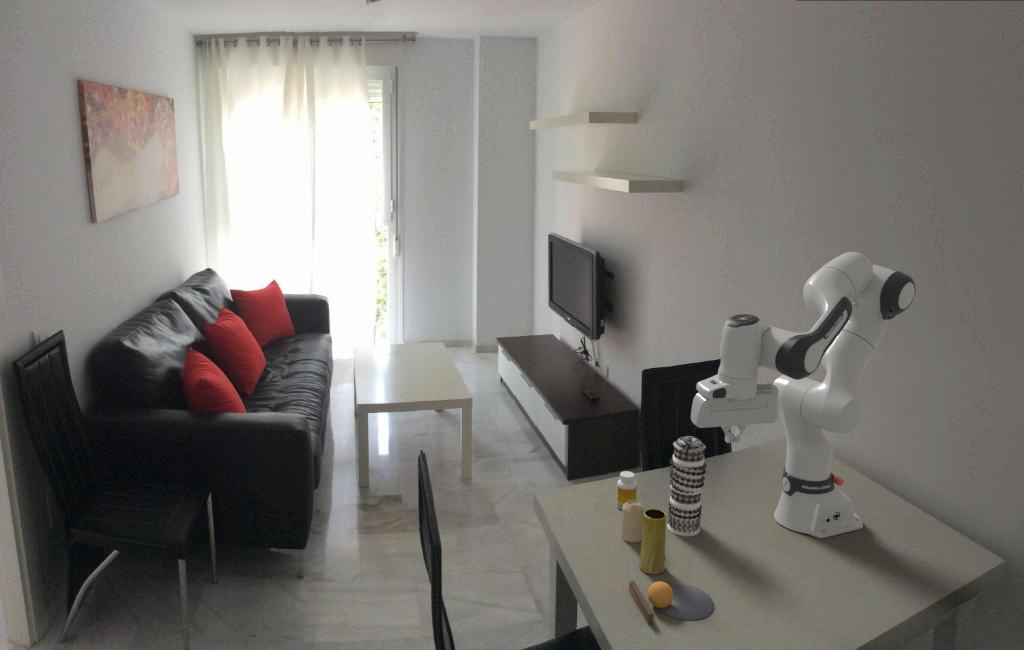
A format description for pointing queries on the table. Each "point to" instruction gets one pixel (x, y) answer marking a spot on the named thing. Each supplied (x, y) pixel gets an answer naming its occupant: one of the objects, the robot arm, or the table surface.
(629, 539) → the candle
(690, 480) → the decorative candle
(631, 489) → the supplement bottle
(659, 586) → the ball
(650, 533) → the vase
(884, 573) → the table surface
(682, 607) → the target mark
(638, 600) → the stopper strip
